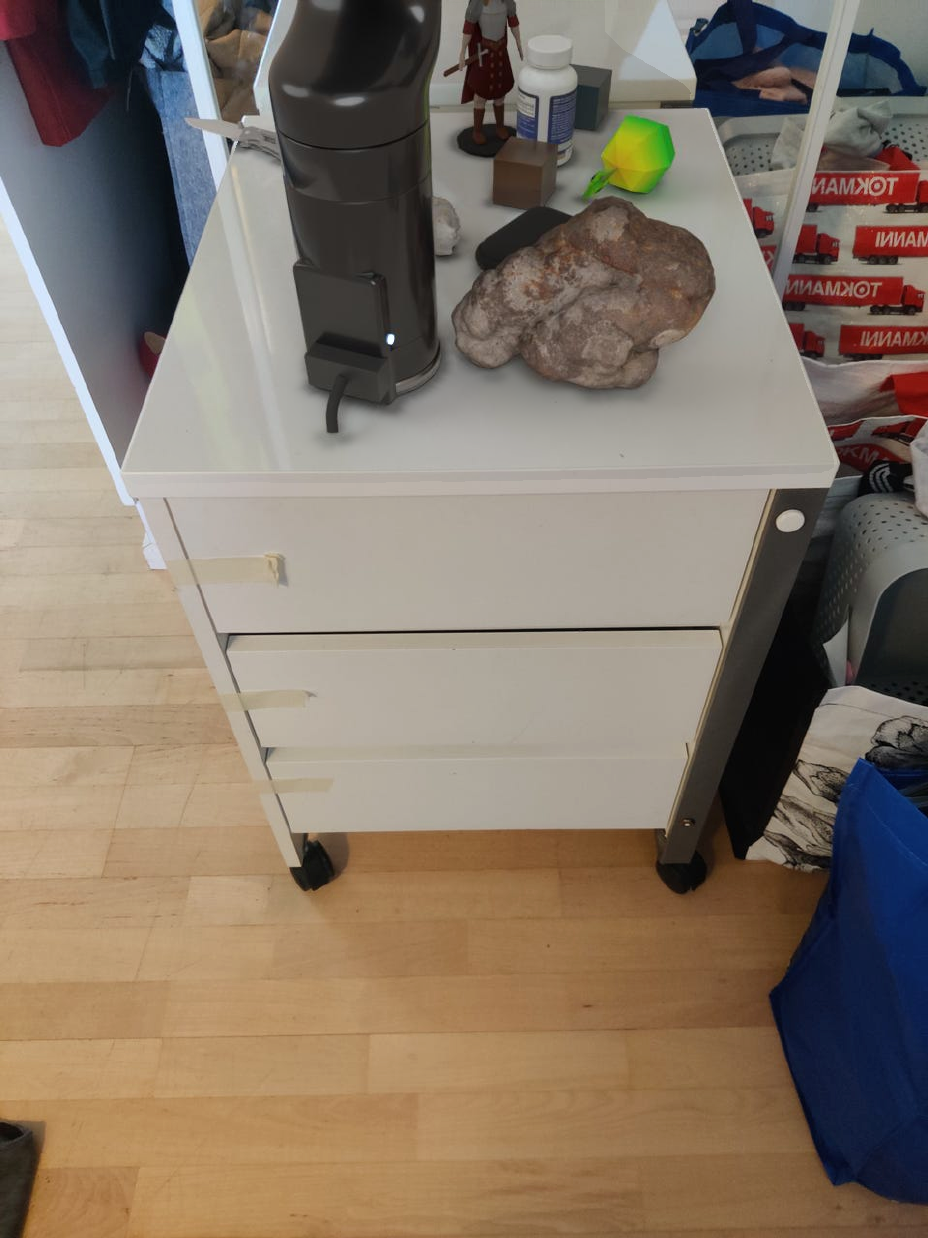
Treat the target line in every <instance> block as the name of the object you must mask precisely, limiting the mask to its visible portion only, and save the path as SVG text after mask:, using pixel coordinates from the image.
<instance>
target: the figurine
mask: <svg viewBox="0 0 928 1238" xmlns="http://www.w3.org/2000/svg"><path fill="white" fill-rule="evenodd" d="M508 28H509V29H510V32H511V34H512V36H513V38H514V40H515V44H516V48H517V50H518V54H519V58H520V60H521V61H522V62H523V61H524V58H525V57H524V52H523V49H522V48H523V47H522V41H521V32H520V20H519V17H518V14H517V3H516V1H515V0H468V3H467V7H466V10H465V14H464V22H463V28H462V40H461V49H460V53H459V58H458V59H459V60H458V61H459V63H457V64H455V65H453V66H452V67H450V68H448V69H446V70H445V71H443V74H442V76H443V77H444V78H447V77H449V76H450V75H452V74H454V73H456V72H458V71H459V72H463V69H464V68H466V70H465V75H464V80H463V85H462V92H461V98H460V99H461V100H460V105H465V104H469V103H471V102H472V104H473V109H472V111H473V113H472V114H473V125H472V126H470V127H466V128H463V130H462V131H461V132H460V133H459V134H458V135H456V141H457V145H458V148H459V149H460V150H462V151H464V152H465V153H466V154H468V155H473V156H477V157H482V158H494V157H495V156H496V154H497V153H498V152H499V151H500V149H501V148H502V147H503V146H504V144H505V143H506V142H507V141H508V139H509V138H510V137H511V136H512V137H516V128H515V127H513V126H510V125H505V103H504V102H505V99H506V96H507V95H508V93H510V92H511V91H512V90H513V89H514V87H515V82H516V80H515V77H514V72H513V67H512V64H511V59H510V58H511V57H510V55H509V54H510V53H509V50H508V42H509V40H508V37H509V36H508V35H509V34H508ZM466 54H468V55H467V58H466ZM488 101H489V102H490V101H493V102H492V109H493V114H494V120H495V123H484V119H485V114H486V104H487V102H488Z"/></svg>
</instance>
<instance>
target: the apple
mask: <svg viewBox="0 0 928 1238" xmlns="http://www.w3.org/2000/svg"><path fill="white" fill-rule="evenodd" d="M600 155H601V159H602V160H601V161H602V163H603V164H602V165H603V167H604V170H601V171H598V172H596V173H595V174H594V175H593V176H592V177H591V178H590V180H589V183H588V185H587V187H586V190H585V191H584V194H583V196H582V198H581V201H582V200H585V199H587V198H590V197H591V196H594V195H596V194H597V193H600V192H601V191H602V190H603V189H604V188H605V187H606V185H607V184H610V185H612V186H616V187H618V188H621V189H623V190H626V191H629V192H634V193H641V194H642V193H643V194H650V192H651V191H652V190H653V189H654V188H655V186H656V185H657V184H658V183H659V181H660V180H661V179H662V177H664V175H665V174H666V173H667V172H668V170H669V169H670V168H671V166H672V164H673V161H674V158H675V156H676V151H675V147H674V142H673V139H672V135H671V131H670V126H669V125H667V124H664V123H661V122H658V121H655V120H652V119H649V118H646V117H641V116H636V115H631V114H627V115H626V116H625V117H624V119H623V121H622V122H621V123H620V125H619V126H618V128H617V129H616V131H615V132H614V133H613V135H612V136H611V138H610V139H609V140H608V142H607V143H606V145H605V147H604V149H603V151H602V153H601V154H600Z"/></svg>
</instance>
